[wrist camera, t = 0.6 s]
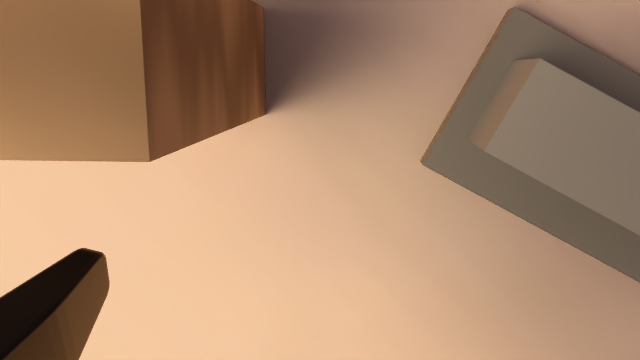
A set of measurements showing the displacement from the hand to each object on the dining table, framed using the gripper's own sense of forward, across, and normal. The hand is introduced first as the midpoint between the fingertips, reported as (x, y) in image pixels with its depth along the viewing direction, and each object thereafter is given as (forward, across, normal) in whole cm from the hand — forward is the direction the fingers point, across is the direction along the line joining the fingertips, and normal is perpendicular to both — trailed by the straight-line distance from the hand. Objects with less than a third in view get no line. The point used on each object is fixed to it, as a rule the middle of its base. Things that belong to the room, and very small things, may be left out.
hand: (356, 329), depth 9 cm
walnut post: (+15, +7, +4) cm, 17 cm away
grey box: (+14, -9, +4) cm, 18 cm away
